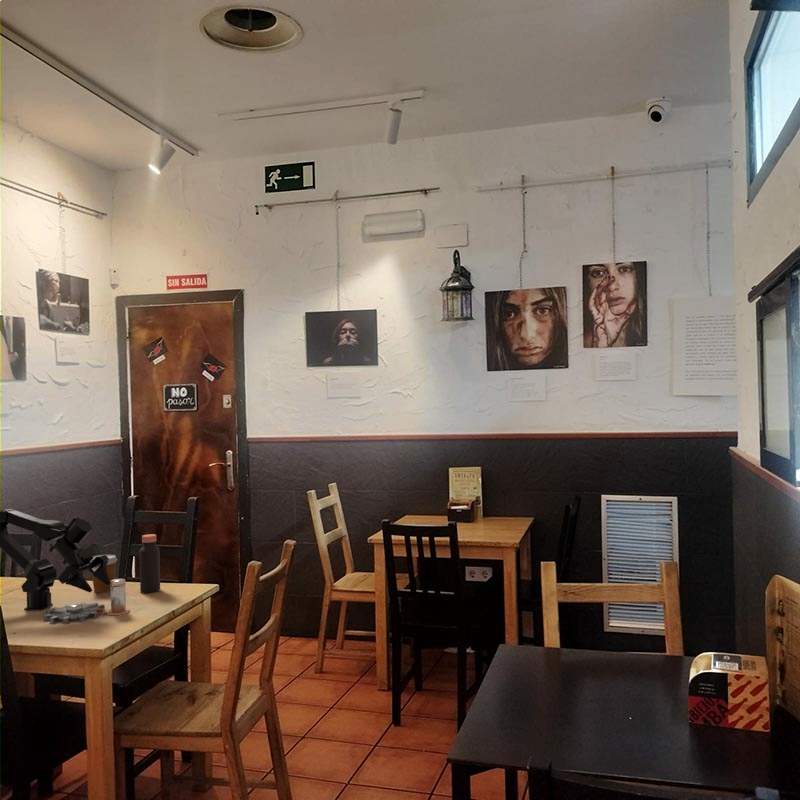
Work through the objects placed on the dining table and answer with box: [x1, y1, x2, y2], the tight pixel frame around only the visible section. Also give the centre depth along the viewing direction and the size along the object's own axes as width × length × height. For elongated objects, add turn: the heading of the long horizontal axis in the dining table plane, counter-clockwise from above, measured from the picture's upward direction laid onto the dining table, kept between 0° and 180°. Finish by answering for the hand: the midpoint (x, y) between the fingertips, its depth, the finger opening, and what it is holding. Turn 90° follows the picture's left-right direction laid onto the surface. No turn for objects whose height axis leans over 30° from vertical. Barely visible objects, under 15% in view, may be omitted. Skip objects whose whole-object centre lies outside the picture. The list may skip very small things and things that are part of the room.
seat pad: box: [106, 608, 131, 616], centre depth 233 cm, size 7×7×1 cm
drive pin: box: [110, 578, 127, 613], centre depth 233 cm, size 4×4×10 cm
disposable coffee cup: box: [90, 554, 118, 593], centre depth 262 cm, size 10×10×12 cm
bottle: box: [139, 533, 161, 594], centre depth 259 cm, size 7×7×20 cm
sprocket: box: [43, 601, 106, 624], centre depth 231 cm, size 18×18×3 cm
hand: (100, 587), depth 235 cm, fingers open, 9 cm apart
